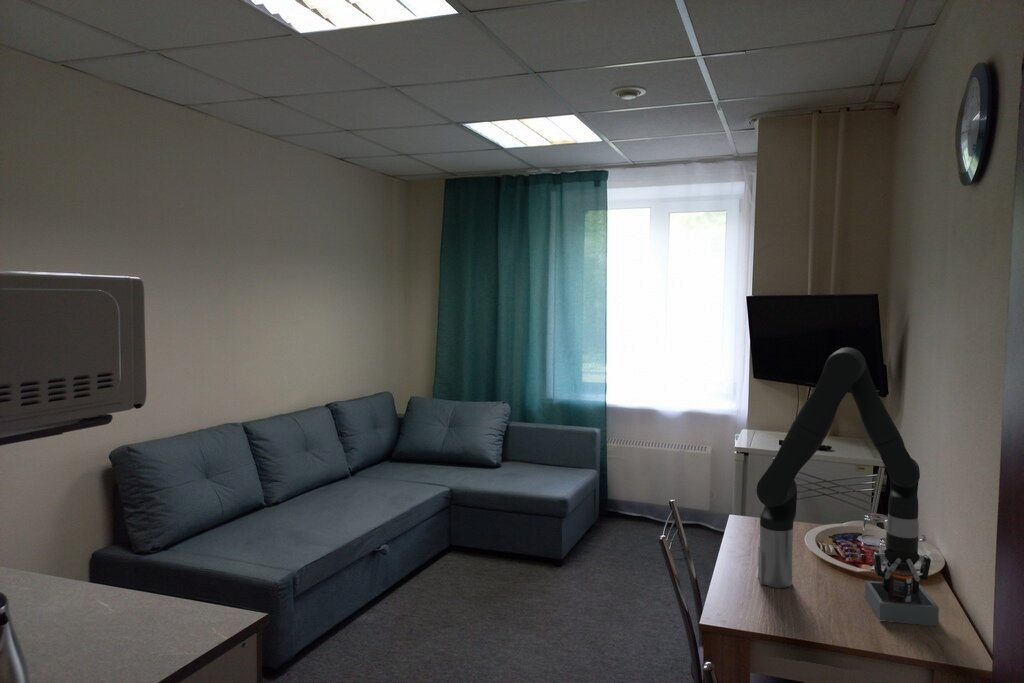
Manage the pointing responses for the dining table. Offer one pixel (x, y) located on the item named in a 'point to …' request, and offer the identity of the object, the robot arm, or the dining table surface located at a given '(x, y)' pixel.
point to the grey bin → (902, 606)
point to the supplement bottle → (901, 585)
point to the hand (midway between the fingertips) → (900, 591)
